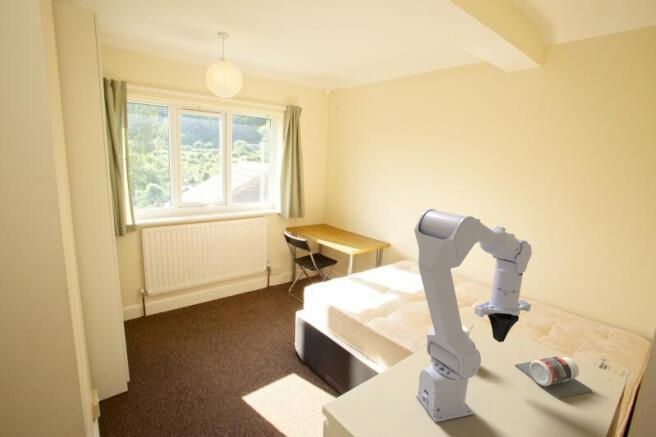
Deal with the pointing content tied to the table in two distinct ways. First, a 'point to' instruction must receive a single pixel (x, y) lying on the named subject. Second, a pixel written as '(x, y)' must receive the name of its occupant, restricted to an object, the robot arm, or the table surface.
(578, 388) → the mat
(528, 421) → the table surface
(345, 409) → the table surface
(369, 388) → the table surface
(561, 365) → the pill bottle
